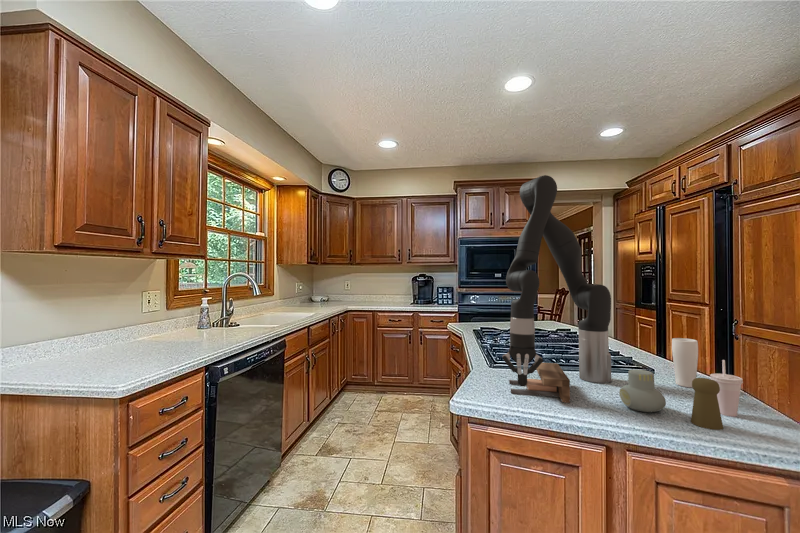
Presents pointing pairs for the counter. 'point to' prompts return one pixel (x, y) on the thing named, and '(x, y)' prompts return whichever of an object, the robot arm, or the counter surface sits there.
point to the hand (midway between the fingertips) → (522, 385)
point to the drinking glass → (685, 360)
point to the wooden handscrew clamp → (549, 382)
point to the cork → (706, 404)
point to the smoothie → (728, 392)
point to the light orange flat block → (539, 385)
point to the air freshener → (642, 392)
